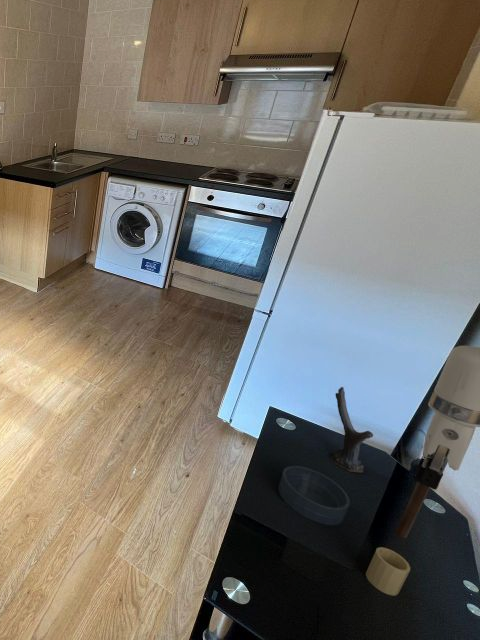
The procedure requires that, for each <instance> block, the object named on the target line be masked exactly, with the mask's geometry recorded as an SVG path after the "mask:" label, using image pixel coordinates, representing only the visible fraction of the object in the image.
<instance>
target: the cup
mask: <svg viewBox="0 0 480 640" xmlns="http://www.w3.org/2000/svg"><path fill="white" fill-rule="evenodd" d="M410 572H411V566H410V564H409V562H408V561H407V560H406V558H404V557H403V556H402V555H400V554H399V553H398V552H396V551H394V550H392V549H389V548H387V547H383V546H380V547H377V548H376V549H375V551H374V553H373V556H372V558H371V560H370V563H369V565H368V567H367V569H366V570H365V577H366V579H367V581H368V582H369V583H370V584H371V585H372V586H373V587H374V588H375V589H377V590H378V591H380V592H381V593H384V594H386V595H388V596H394V597H395V596H397V595H399V593H400V591H401V589H402V587H403V585H404V584H405V582H406V580H407V577H408V576H409V574H410Z"/></svg>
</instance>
